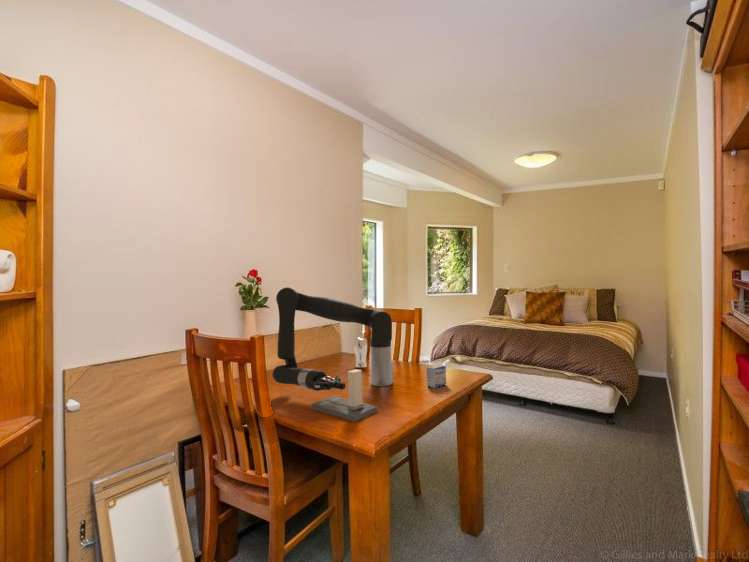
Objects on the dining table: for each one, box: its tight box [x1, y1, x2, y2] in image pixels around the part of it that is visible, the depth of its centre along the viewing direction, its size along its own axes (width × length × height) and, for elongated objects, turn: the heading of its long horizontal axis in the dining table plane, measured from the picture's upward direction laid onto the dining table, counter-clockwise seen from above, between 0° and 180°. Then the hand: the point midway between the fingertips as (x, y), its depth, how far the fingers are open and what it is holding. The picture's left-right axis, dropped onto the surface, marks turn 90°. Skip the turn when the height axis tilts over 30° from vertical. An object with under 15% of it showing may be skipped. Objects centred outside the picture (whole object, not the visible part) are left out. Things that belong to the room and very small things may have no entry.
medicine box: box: [426, 364, 447, 389], centre depth 171 cm, size 8×4×9 cm, turn 129°
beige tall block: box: [347, 368, 365, 410], centre depth 139 cm, size 5×4×13 cm
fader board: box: [310, 395, 378, 423], centre depth 143 cm, size 12×22×2 cm, turn 51°
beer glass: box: [353, 337, 368, 369], centre depth 211 cm, size 7×7×15 cm
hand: (343, 386), depth 143 cm, fingers closed
